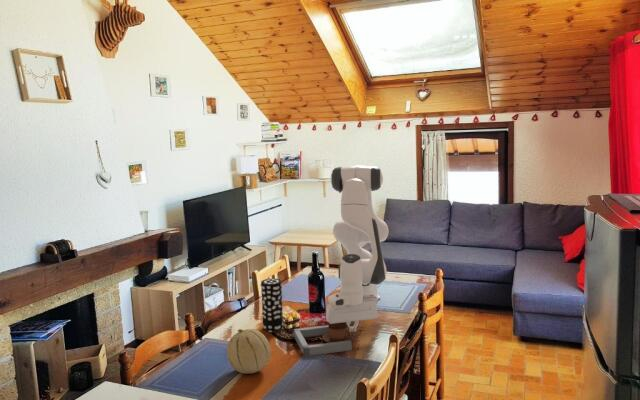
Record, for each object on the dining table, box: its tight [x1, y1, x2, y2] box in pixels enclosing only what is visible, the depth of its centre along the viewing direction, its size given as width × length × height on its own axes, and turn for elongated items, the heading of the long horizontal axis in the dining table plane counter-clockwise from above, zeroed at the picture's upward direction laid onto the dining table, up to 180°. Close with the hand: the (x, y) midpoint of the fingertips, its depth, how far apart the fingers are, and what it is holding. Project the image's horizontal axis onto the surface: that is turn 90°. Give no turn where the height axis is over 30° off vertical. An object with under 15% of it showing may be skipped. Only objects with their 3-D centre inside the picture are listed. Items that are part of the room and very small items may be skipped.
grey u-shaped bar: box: [293, 324, 353, 357], centre depth 201 cm, size 19×18×3 cm
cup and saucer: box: [322, 322, 354, 343], centre depth 203 cm, size 12×12×6 cm
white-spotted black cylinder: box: [260, 278, 284, 333], centre depth 216 cm, size 8×8×20 cm
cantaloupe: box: [226, 328, 272, 375], centre depth 179 cm, size 15×15×15 cm
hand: (352, 331), depth 204 cm, fingers closed
